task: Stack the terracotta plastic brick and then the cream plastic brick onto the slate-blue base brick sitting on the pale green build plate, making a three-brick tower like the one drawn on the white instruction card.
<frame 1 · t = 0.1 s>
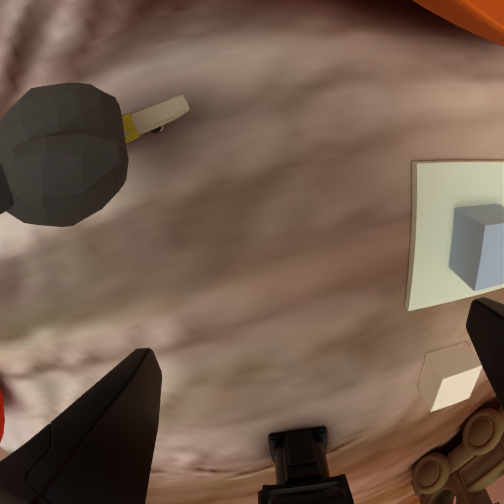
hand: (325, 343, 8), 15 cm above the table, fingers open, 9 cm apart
brick base: (474, 235, 22), point 1 cm above the table, touching build plate
wooden toy train: (459, 439, 36), on the table
toy: (143, 134, 20), on the table
brick 3: (441, 364, 28), on the table
build plate: (469, 231, 22), on the table
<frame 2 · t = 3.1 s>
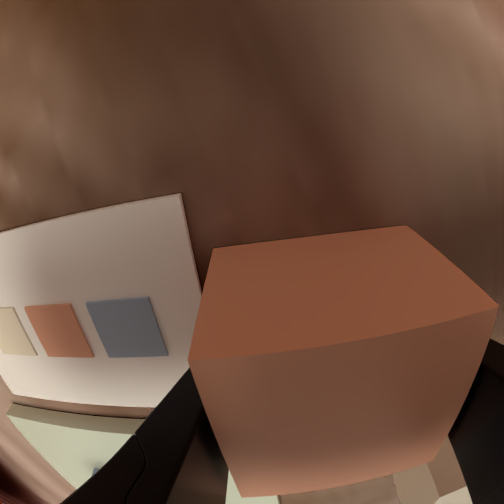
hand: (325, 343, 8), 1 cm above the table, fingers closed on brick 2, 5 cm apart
brick 2: (318, 319, 9), on the table, touching gripper
instruction card: (61, 327, 9), on the table
brick 3: (442, 441, 13), on the table
build plate: (159, 483, 13), on the table
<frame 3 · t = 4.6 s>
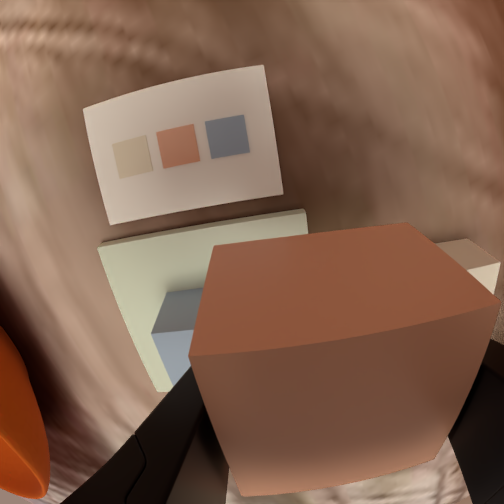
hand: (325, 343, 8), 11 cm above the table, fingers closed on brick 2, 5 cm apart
brick base: (216, 321, 20), point 1 cm above the table, touching build plate
brick 2: (319, 317, 9), point 10 cm above the table, touching gripper
instruction card: (178, 145, 16), on the table
brick 3: (435, 275, 20), on the table
build plate: (217, 314, 20), on the table
when the fingers open (7 cm above the table, at t = 6.1 s): brick 2 stays where it is, resting on brick base.
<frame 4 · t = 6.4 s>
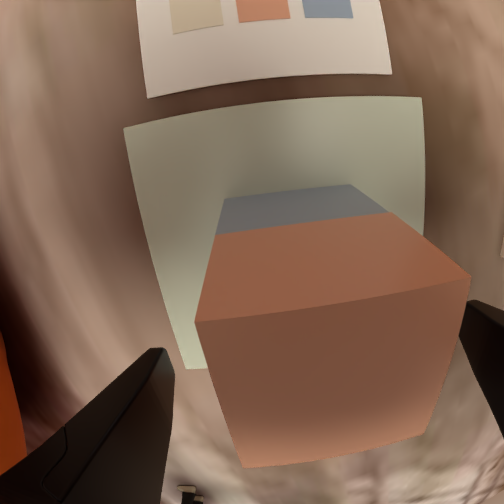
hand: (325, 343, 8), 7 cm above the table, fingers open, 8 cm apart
brick base: (294, 249, 13), point 1 cm above the table, touching brick 2, build plate
brick 2: (312, 300, 10), point 5 cm above the table, touching brick base
toy: (198, 490, 24), on the table
instruction card: (261, 1, 10), on the table
build plate: (291, 242, 14), on the table
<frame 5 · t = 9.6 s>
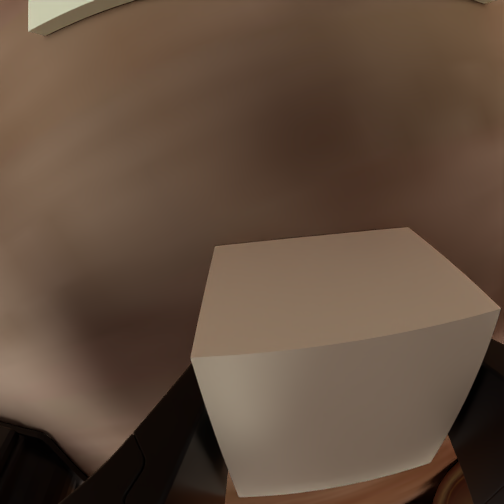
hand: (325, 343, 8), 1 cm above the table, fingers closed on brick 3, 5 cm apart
wooden toy train: (432, 496, 17), on the table
brick 3: (318, 319, 9), on the table, touching gripper
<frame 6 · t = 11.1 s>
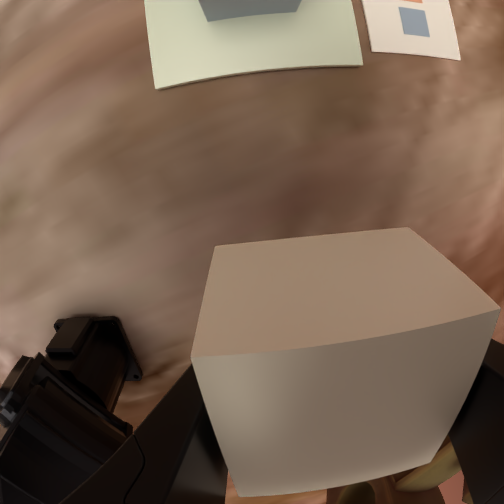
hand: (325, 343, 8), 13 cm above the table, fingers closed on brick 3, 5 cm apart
wooden toy train: (393, 403, 28), on the table
brick 3: (318, 319, 9), point 12 cm above the table, touching gripper
when the fingers open (11 cm above the table, at t = 12.8 s): brick 3 stays where it is, resting on brick 2.
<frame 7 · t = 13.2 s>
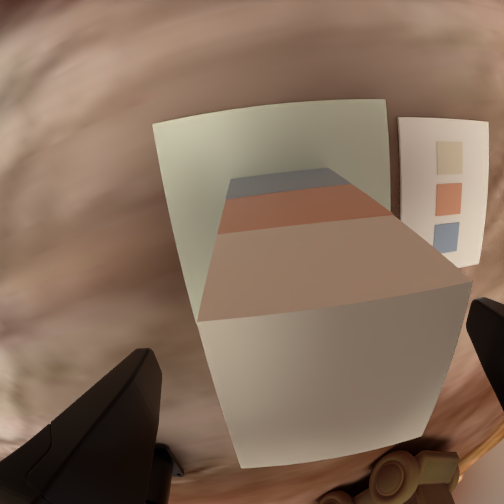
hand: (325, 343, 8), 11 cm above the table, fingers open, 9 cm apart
brick base: (285, 219, 17), point 1 cm above the table, touching brick 2, build plate
brick 2: (296, 249, 13), point 5 cm above the table, touching brick 3, brick base
wooden toy train: (377, 477, 32), on the table
instruction card: (447, 198, 17), on the table
brick 3: (312, 301, 10), point 9 cm above the table, touching brick 2
build plate: (283, 214, 18), on the table
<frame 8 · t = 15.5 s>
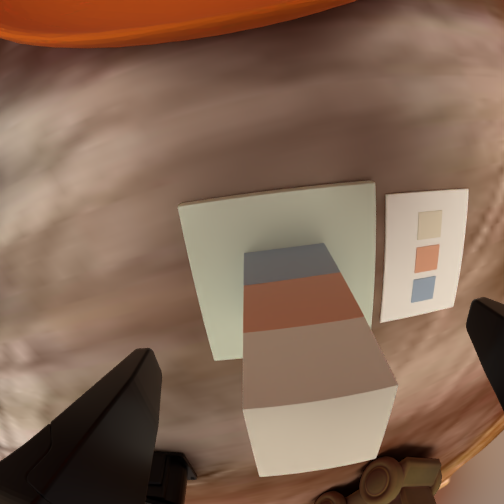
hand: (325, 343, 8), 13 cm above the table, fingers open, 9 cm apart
brick base: (287, 283, 21), point 1 cm above the table, touching brick 2, build plate
brick 2: (296, 318, 17), point 5 cm above the table, touching brick 3, brick base
wooden toy train: (368, 480, 36), on the table
instruction card: (425, 257, 21), on the table
brick 3: (306, 369, 14), point 9 cm above the table, touching brick 2
build plate: (286, 277, 22), on the table
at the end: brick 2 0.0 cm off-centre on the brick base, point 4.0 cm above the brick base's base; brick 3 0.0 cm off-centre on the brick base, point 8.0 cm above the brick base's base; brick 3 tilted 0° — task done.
